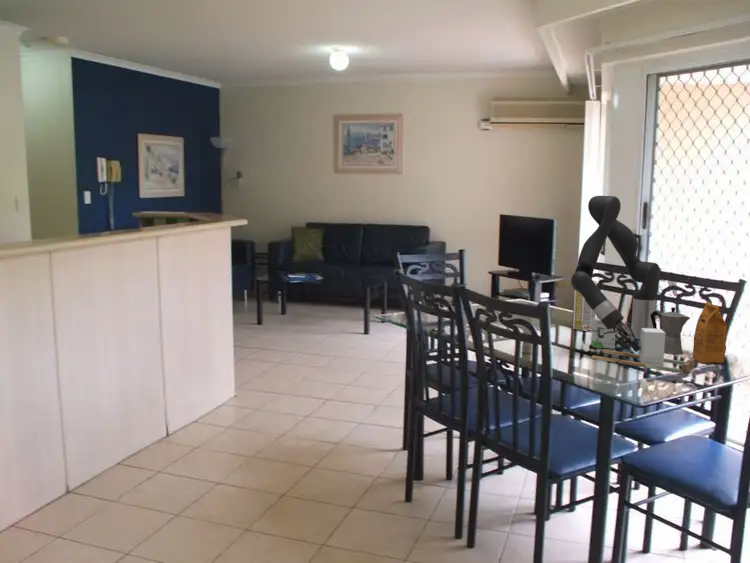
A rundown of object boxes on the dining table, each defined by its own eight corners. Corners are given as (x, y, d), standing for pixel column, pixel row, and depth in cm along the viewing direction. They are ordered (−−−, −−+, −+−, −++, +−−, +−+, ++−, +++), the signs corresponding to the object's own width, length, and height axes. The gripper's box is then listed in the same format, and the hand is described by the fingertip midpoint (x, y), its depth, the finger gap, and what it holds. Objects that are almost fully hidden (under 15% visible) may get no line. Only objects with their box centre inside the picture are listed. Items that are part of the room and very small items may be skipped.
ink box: (593, 348, 277) (594, 319, 275) (590, 345, 282) (592, 317, 280) (615, 348, 276) (616, 320, 275) (611, 345, 281) (613, 317, 280)
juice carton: (582, 327, 317) (584, 276, 314) (597, 329, 311) (599, 278, 308) (570, 329, 311) (572, 278, 308) (585, 332, 305) (587, 279, 302)
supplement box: (663, 366, 250) (666, 332, 248) (642, 365, 251) (644, 331, 249) (659, 361, 257) (661, 328, 255) (638, 360, 258) (640, 327, 256)
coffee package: (715, 357, 264) (720, 301, 260) (727, 365, 251) (732, 307, 248) (688, 355, 265) (692, 300, 262) (699, 364, 253) (703, 306, 250)
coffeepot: (691, 352, 270) (695, 308, 268) (682, 356, 264) (685, 311, 261) (653, 345, 281) (656, 303, 279) (643, 349, 275) (646, 305, 272)
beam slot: (603, 351, 271) (603, 344, 270) (695, 365, 250) (695, 357, 250) (591, 358, 260) (591, 350, 260) (686, 373, 240) (686, 365, 239)
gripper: (609, 310, 254) (641, 347, 248) (621, 306, 264) (651, 341, 258) (594, 322, 258) (625, 359, 252) (606, 317, 268) (636, 352, 262)
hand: (638, 350), depth 255 cm, fingers closed
